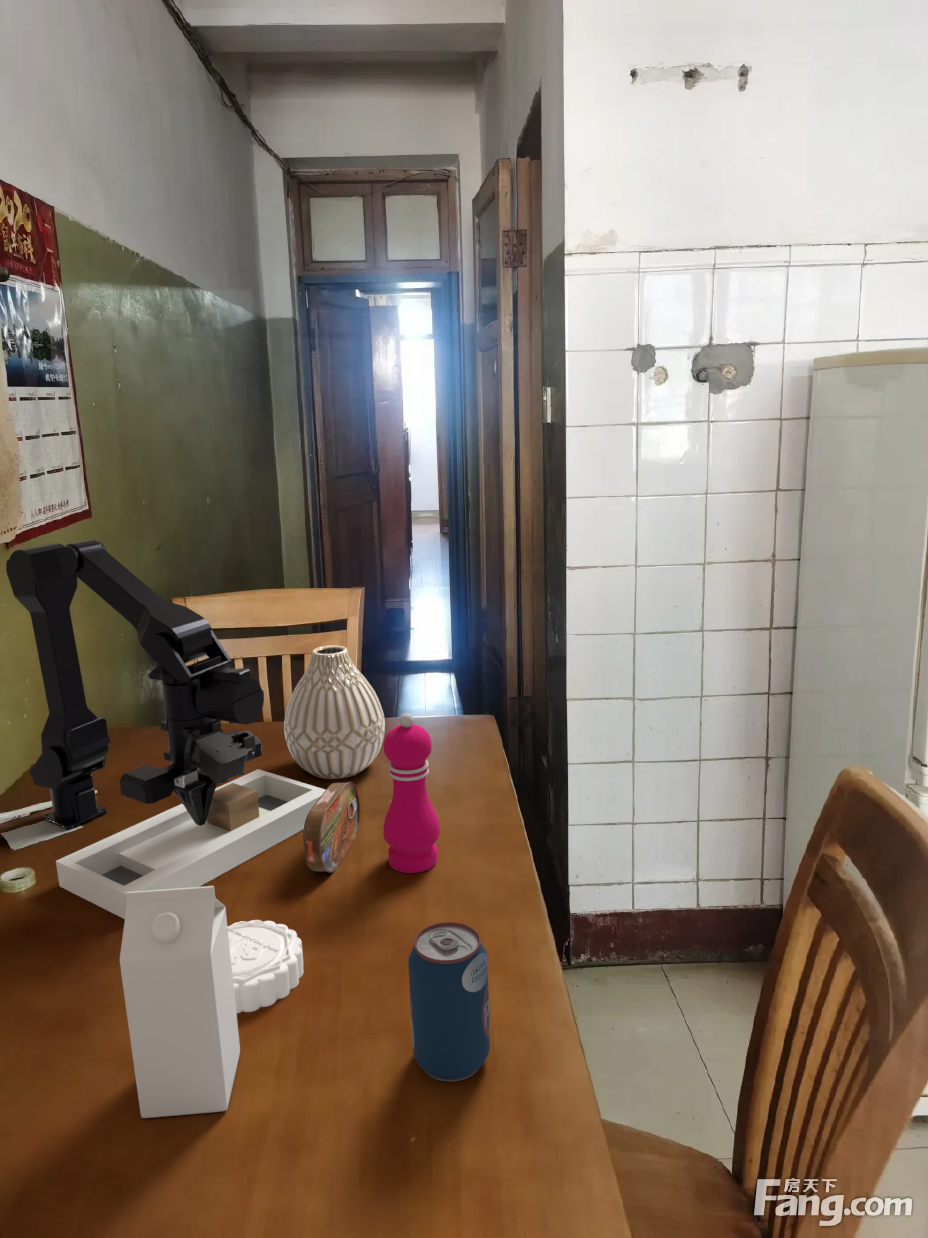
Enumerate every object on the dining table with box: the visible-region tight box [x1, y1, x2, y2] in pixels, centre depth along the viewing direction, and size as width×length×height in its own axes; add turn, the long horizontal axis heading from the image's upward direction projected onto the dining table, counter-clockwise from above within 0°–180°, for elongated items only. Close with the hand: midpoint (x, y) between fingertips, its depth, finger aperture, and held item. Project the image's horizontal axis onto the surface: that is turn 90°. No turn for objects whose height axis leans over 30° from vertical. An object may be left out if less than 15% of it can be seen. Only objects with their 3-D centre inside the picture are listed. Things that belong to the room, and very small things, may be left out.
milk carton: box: [119, 885, 241, 1119], centre depth 76 cm, size 7×7×19 cm
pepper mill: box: [382, 713, 441, 874], centre depth 113 cm, size 7×7×20 cm
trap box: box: [55, 768, 326, 920], centre depth 120 cm, size 15×33×4 cm, turn 145°
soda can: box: [407, 921, 491, 1083], centre depth 79 cm, size 7×7×12 cm
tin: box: [302, 781, 361, 873], centre depth 117 cm, size 15×3×8 cm, turn 168°
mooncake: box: [227, 919, 304, 1015], centre depth 93 cm, size 12×12×4 cm
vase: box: [283, 645, 386, 780], centre depth 143 cm, size 16×16×20 cm
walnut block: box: [207, 783, 260, 832], centre depth 123 cm, size 5×5×4 cm
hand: (200, 824), depth 119 cm, fingers closed
